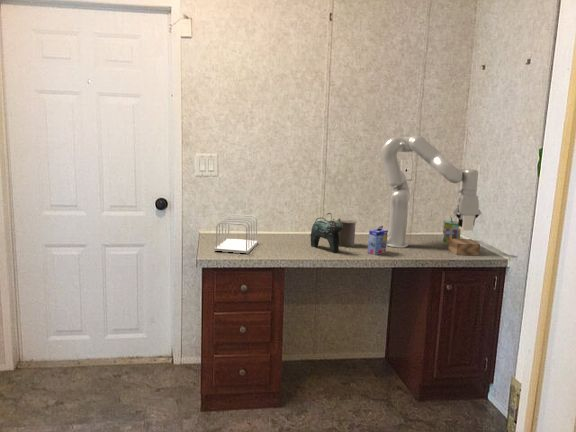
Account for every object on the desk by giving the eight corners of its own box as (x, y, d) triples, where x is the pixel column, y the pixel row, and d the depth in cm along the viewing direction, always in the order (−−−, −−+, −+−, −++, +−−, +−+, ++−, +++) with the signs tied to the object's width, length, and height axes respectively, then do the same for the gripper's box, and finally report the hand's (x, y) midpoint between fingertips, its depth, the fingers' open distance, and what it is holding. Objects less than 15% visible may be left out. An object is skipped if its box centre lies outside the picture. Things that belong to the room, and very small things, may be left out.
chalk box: (459, 243, 292) (462, 218, 289) (443, 242, 294) (445, 217, 291) (457, 240, 301) (460, 215, 298) (441, 239, 303) (444, 214, 300)
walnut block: (456, 254, 264) (457, 243, 263) (448, 249, 276) (449, 238, 275) (478, 255, 265) (480, 244, 264) (469, 249, 277) (470, 239, 276)
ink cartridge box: (375, 255, 258) (377, 227, 256) (367, 253, 262) (368, 226, 259) (386, 252, 265) (388, 225, 263) (377, 250, 269) (379, 223, 266)
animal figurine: (342, 252, 262) (344, 214, 258) (333, 254, 258) (335, 215, 254) (315, 245, 277) (317, 209, 273) (307, 246, 272) (308, 210, 269)
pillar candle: (337, 247, 274) (339, 219, 271) (335, 242, 283) (337, 216, 281) (355, 247, 274) (357, 220, 271) (352, 243, 284) (354, 217, 281)
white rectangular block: (462, 230, 265) (464, 214, 264) (458, 228, 271) (460, 212, 269) (473, 230, 266) (474, 214, 264) (468, 228, 271) (470, 212, 270)
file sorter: (247, 254, 252) (248, 224, 249) (214, 252, 254) (214, 222, 252) (258, 243, 276) (258, 215, 274) (227, 241, 279) (227, 213, 276)
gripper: (455, 193, 261) (452, 227, 264) (488, 194, 262) (484, 228, 265) (450, 191, 268) (447, 225, 271) (481, 192, 269) (478, 225, 272)
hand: (466, 226), depth 268 cm, fingers closed on white rectangular block, 5 cm apart
